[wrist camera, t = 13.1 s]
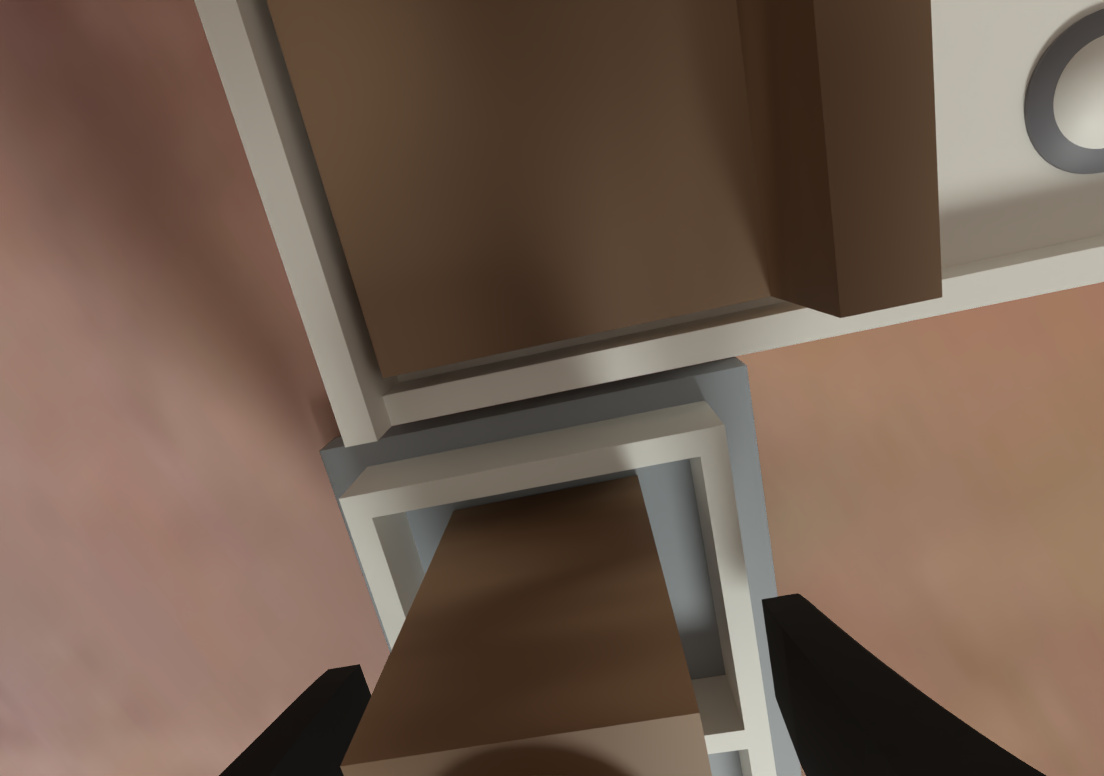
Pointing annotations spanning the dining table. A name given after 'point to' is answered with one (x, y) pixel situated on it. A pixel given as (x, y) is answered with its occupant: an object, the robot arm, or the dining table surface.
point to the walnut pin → (538, 650)
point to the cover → (615, 161)
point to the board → (967, 282)
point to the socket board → (586, 458)
